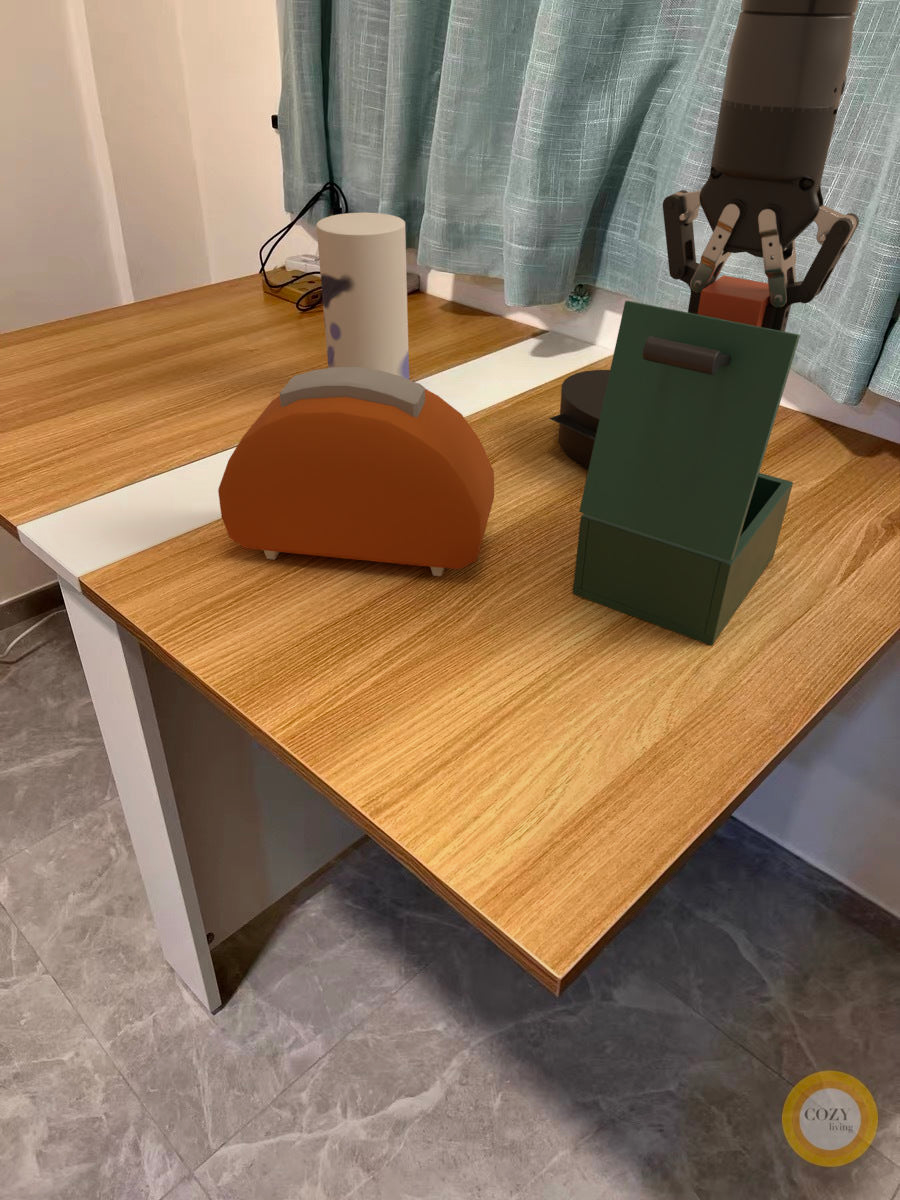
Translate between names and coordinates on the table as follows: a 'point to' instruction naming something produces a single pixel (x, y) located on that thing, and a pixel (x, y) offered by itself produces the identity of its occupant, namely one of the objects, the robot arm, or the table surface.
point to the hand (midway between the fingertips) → (731, 343)
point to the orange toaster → (360, 474)
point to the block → (735, 300)
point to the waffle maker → (581, 414)
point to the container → (365, 291)
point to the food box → (679, 568)
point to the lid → (686, 425)
